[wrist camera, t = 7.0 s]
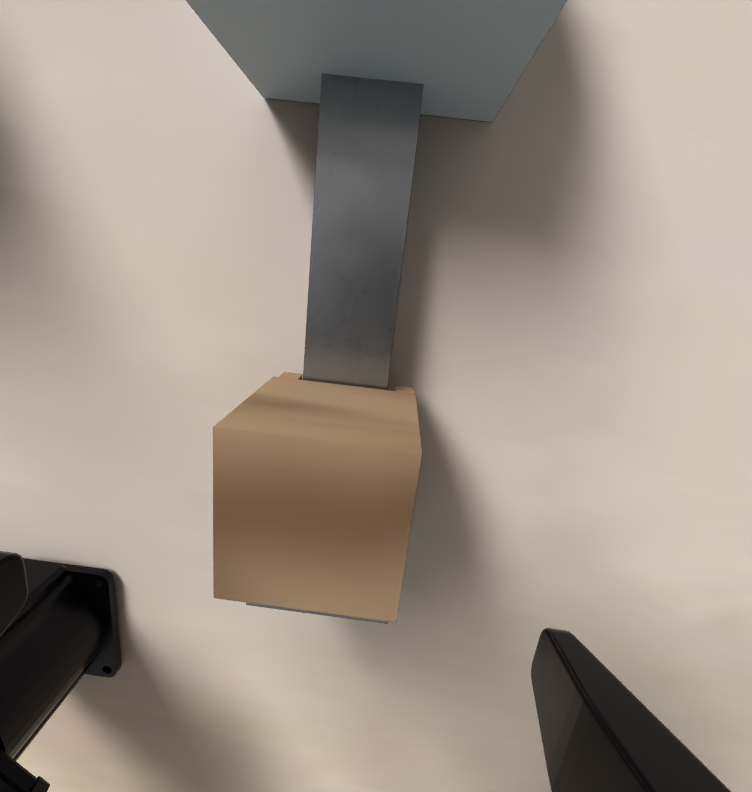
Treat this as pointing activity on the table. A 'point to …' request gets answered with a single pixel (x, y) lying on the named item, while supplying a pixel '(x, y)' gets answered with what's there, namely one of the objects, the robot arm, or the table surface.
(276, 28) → the blue grey open box
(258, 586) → the block
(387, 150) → the rail
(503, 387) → the table surface
